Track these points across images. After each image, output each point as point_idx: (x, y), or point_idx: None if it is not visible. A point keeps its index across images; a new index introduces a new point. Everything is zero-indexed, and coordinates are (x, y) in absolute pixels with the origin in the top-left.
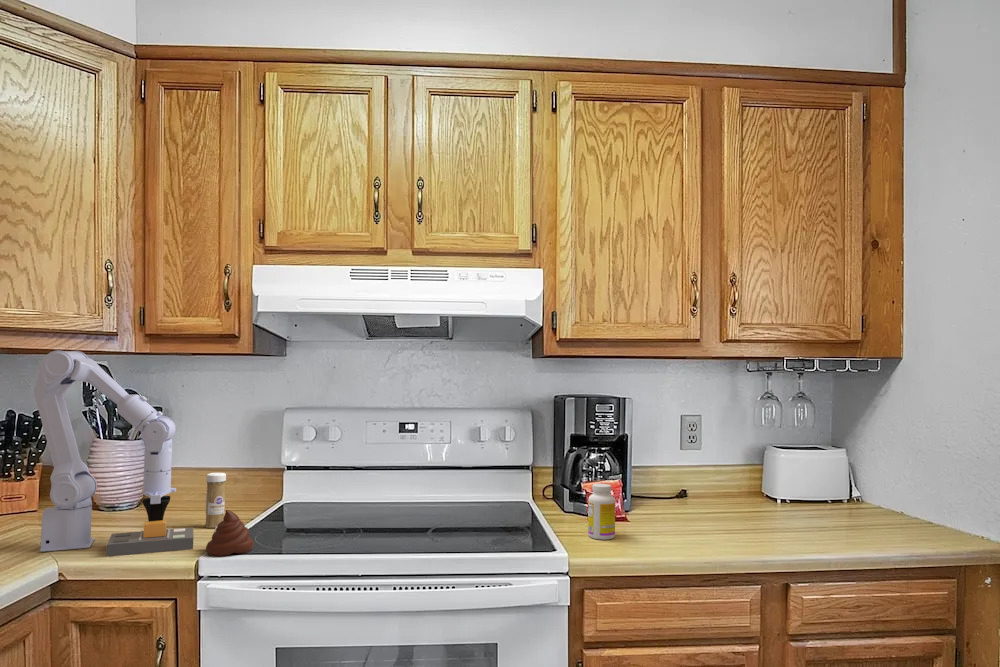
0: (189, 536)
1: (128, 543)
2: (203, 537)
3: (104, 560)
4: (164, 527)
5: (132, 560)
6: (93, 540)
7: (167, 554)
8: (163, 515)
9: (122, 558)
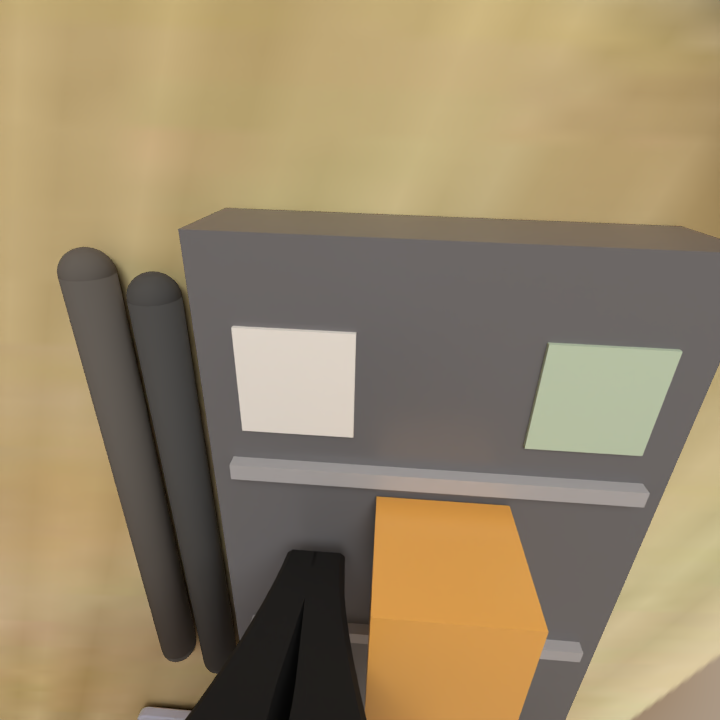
0: (669, 297)
1: (576, 686)
2: (220, 92)
3: (605, 685)
4: (530, 589)
5: (712, 598)
6: (187, 714)
7: (717, 427)
8: (363, 708)
9: (621, 631)
